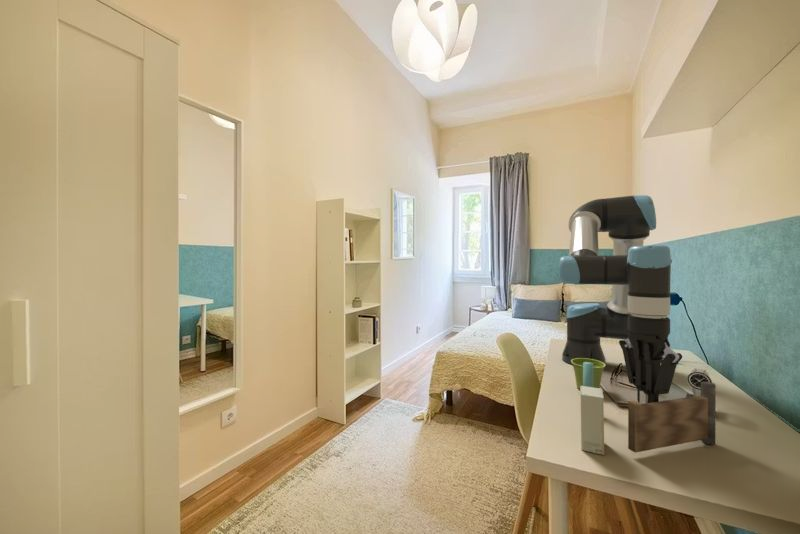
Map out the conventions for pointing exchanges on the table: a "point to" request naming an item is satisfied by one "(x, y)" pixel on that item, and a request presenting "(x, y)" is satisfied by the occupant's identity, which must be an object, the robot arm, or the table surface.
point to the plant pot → (597, 371)
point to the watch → (697, 381)
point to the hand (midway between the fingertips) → (647, 420)
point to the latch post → (588, 374)
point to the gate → (673, 421)
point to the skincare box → (592, 419)
